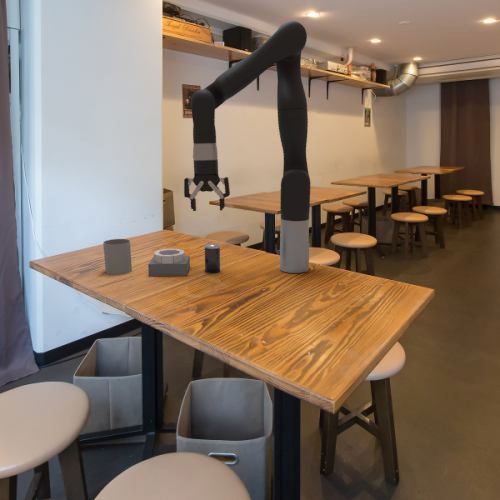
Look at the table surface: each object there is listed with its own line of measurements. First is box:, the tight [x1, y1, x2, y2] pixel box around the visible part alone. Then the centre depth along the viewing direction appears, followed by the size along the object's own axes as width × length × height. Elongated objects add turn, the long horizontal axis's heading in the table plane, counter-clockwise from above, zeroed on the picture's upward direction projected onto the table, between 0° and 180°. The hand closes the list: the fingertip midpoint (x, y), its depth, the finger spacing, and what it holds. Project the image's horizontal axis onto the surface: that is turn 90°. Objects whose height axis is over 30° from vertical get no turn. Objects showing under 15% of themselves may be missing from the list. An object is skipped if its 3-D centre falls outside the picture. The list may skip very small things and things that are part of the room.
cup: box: [102, 238, 133, 276], centre depth 141 cm, size 8×8×10 cm
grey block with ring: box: [147, 248, 191, 277], centre depth 141 cm, size 12×10×6 cm
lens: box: [203, 242, 221, 274], centre depth 142 cm, size 5×5×9 cm
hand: (207, 210), depth 137 cm, fingers open, 8 cm apart
